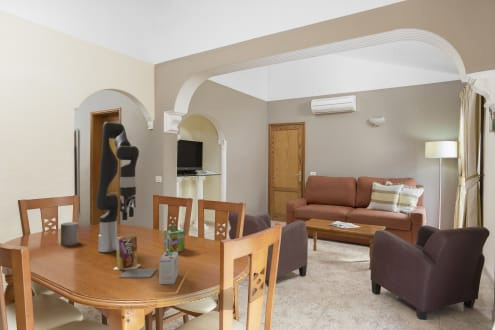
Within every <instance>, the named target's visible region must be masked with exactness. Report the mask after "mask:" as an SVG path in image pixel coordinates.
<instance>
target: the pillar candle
mask: <svg viewBox="0 0 495 330" xmlns="http://www.w3.org/2000/svg"><path fill="white" fill-rule="evenodd" d="M78 244H79V222H78V221H77V222H74V221H73V222H72V221H71V222H70V221H68V222H64V223H61V224H60V246H64V247H66V246H67V247H68V246H74V245H78Z"/></svg>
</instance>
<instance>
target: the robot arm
mask: <svg viewBox="0 0 495 330" xmlns="http://www.w3.org/2000/svg"><path fill="white" fill-rule="evenodd" d="M101 137H102V138H101V140H102V143H101V144H102V146H101V157H100V167H99V168H100V169H99V182H98V188H97V194H96V199H95V204H96V205H95V206H96V208H97V210H98V211H107V212H105V213H104V214H102V215H101V216H100V217H99V234H98V236H97V239H98V240H97V245H98V247H97V249H98V251H97V252H99V253H112V252H114V251H115V252H116V251H117V248H116V237H118V228H117V227H118V224H117V222H118V215H119V214H118V213H119V212H121V216H122V217H121V219H122V221H127V220H128V217H129V218H134V216H135V208H136V206H137V205H136V196H137V180H136V179H137V178H136V166H137V163H138V160H139V159H138V158H139V156H140V155H139V154H140V150H139V148H138V147H137V146H133V145H132V144H131V143H130V141H129V139H128V136H127V133H126V128H125V127H124V125H123V124H121V123H118V122H111V121H105V122H104V123H103V125H102V136H101ZM110 139H113V140H114V146H115V148H116V153H114V151H113V149H112V147H111V144H110ZM119 161H129V163H128V164H123V165H121V166H120V168H119ZM118 169H120V170H119V176H120V177H119V196H120V197H123V198H120V200H119V198H118V195H117V194H115V193H108V189H109V187H110V185H111V183H112V182H113V181H114V179H115V178H116V176H117V174H118Z"/></svg>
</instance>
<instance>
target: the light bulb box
mask: <svg viewBox="0 0 495 330" xmlns="http://www.w3.org/2000/svg"><path fill="white" fill-rule="evenodd" d="M158 263H159V264H158V266H159V271H158V272H159V273H158V274H159V279H158V280H159V281H158V282H159V283H158V284H159V285H174V284H175V283H176V280H177V278H178V276H179V252H167V251H165V252H163V253H162V256H161V257H160V258H159V259H158Z"/></svg>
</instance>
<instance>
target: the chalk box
mask: <svg viewBox="0 0 495 330" xmlns="http://www.w3.org/2000/svg"><path fill="white" fill-rule="evenodd" d="M173 228H175V229H173ZM185 235H186V234H185V231H184V230H181V229H179V228H178V225H177V224H174V225H169V230H164V235H163V236H164V237H163V240H164V241H163V242H164V251H165V252H178V253H180V252H185V237H186V236H185Z"/></svg>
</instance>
